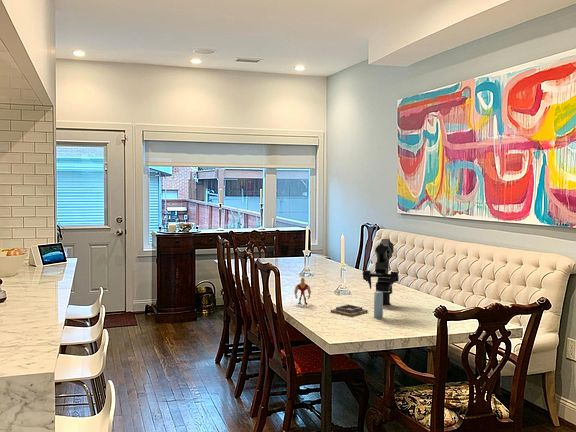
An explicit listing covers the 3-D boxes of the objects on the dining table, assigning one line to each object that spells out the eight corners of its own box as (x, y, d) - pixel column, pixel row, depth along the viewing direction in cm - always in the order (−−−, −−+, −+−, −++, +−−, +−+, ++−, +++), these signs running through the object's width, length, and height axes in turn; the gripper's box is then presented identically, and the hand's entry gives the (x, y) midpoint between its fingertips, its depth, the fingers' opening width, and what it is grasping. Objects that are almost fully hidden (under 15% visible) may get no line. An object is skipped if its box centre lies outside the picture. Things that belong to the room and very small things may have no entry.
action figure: (294, 304, 323) (294, 278, 322) (294, 302, 326) (294, 276, 326) (310, 304, 323) (311, 278, 322) (310, 303, 326) (311, 277, 325)
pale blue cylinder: (380, 316, 295) (381, 291, 294) (384, 318, 290) (384, 293, 290) (372, 316, 294) (373, 291, 293) (375, 318, 290) (376, 293, 289)
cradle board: (347, 308, 313) (347, 303, 313) (367, 312, 303) (367, 307, 303) (330, 312, 303) (330, 307, 303) (351, 316, 293) (351, 311, 293)
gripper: (363, 255, 305) (360, 279, 296) (398, 256, 300) (396, 281, 291) (365, 267, 314) (362, 291, 304) (399, 268, 309) (397, 293, 299)
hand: (379, 289), depth 299 cm, fingers open, 9 cm apart
